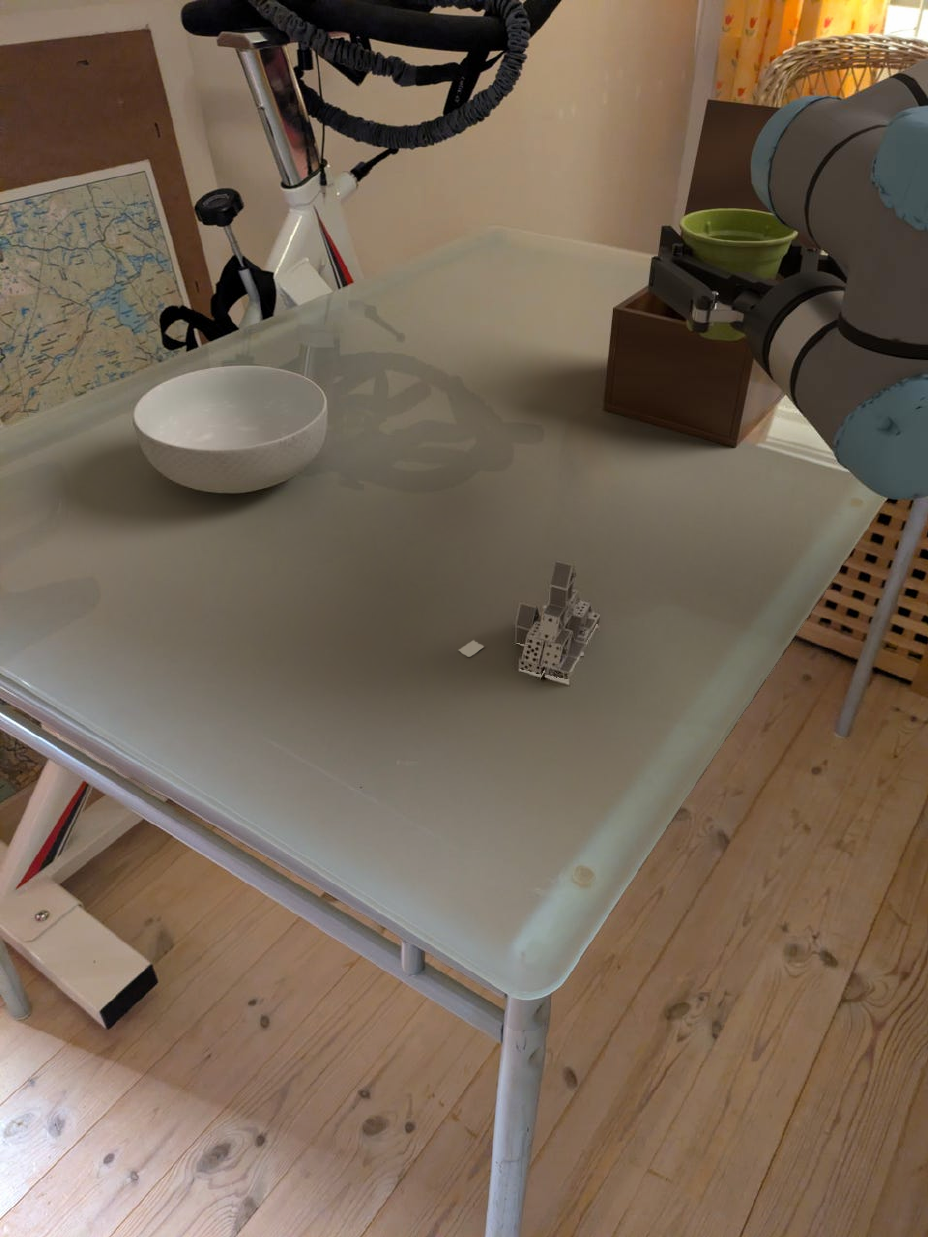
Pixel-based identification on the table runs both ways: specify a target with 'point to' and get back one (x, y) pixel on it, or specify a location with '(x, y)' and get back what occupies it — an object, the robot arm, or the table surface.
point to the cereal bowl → (232, 427)
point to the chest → (683, 374)
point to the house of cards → (555, 627)
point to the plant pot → (736, 248)
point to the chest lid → (729, 160)
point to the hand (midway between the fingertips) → (715, 240)
